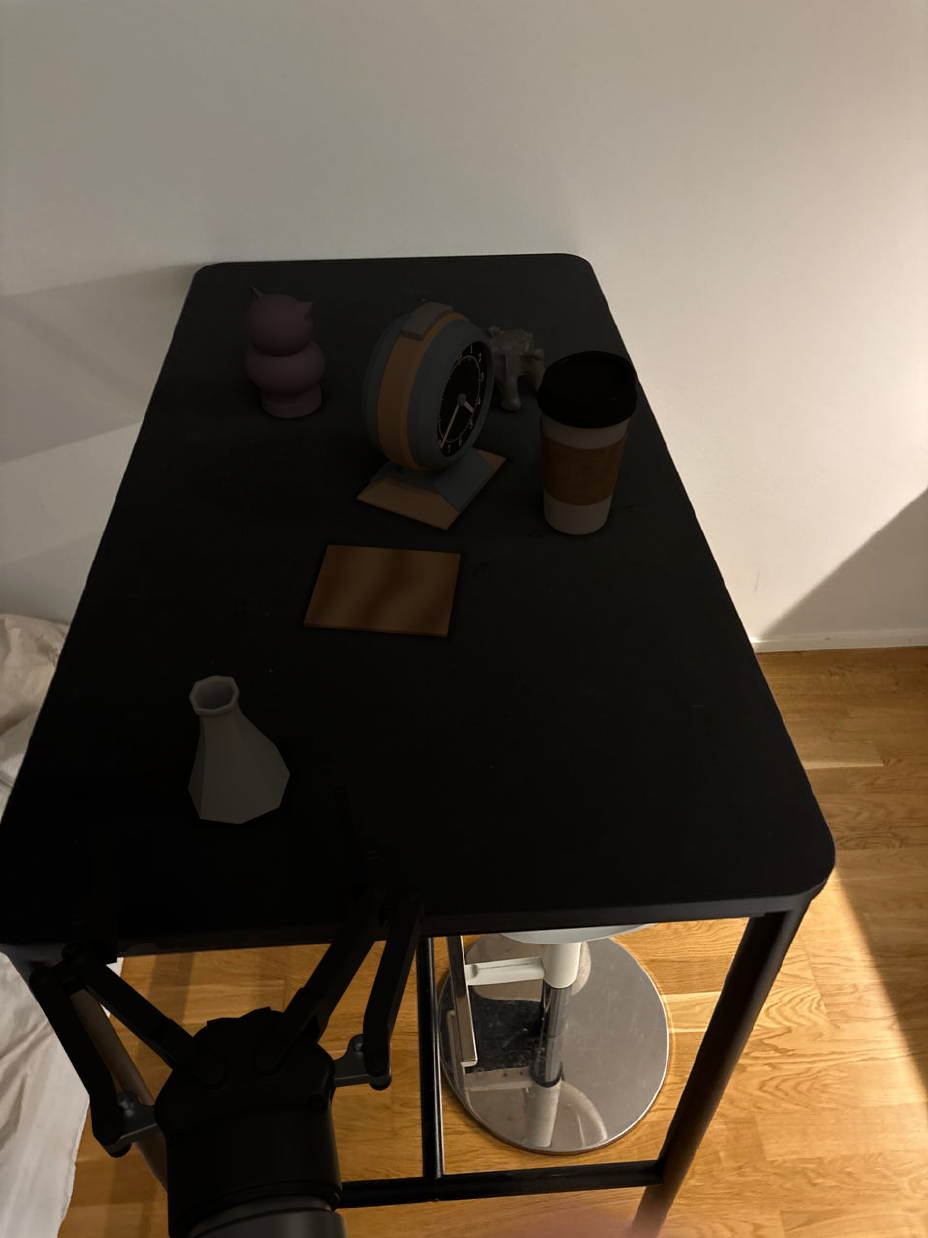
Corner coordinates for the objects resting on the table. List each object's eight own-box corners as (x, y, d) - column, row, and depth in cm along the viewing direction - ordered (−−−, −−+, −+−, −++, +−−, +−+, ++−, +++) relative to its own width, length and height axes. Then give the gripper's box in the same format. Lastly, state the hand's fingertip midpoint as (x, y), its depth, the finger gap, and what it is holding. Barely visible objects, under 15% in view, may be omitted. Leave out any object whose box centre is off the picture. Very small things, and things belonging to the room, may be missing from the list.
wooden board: (303, 626, 82) (303, 622, 81) (328, 547, 89) (328, 544, 88) (446, 637, 81) (446, 634, 80) (460, 556, 88) (460, 553, 87)
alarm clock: (440, 536, 90) (435, 364, 77) (350, 505, 93) (331, 335, 80) (510, 454, 98) (515, 288, 86) (425, 428, 102) (419, 264, 89)
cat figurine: (236, 409, 104) (215, 304, 96) (279, 374, 109) (263, 271, 101) (303, 430, 102) (287, 324, 93) (344, 393, 106) (332, 289, 98)
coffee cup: (639, 521, 91) (662, 379, 80) (568, 556, 88) (581, 412, 77) (582, 476, 96) (596, 336, 85) (512, 507, 92) (517, 366, 82)
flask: (288, 737, 73) (268, 645, 66) (293, 818, 68) (272, 729, 61) (189, 750, 73) (159, 659, 65) (187, 834, 68) (153, 745, 60)
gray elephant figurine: (557, 384, 107) (561, 320, 102) (515, 443, 100) (517, 376, 94) (479, 366, 110) (480, 302, 105) (433, 422, 103) (430, 356, 97)
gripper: (-13, 1329, 43) (23, 902, 58) (532, 1179, 47) (436, 815, 62) (-82, 1292, 38) (-23, 832, 52) (539, 1126, 42) (432, 741, 56)
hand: (225, 822), depth 57 cm, fingers open, 13 cm apart
